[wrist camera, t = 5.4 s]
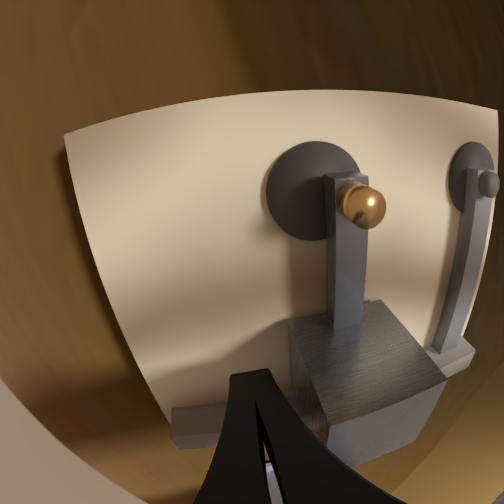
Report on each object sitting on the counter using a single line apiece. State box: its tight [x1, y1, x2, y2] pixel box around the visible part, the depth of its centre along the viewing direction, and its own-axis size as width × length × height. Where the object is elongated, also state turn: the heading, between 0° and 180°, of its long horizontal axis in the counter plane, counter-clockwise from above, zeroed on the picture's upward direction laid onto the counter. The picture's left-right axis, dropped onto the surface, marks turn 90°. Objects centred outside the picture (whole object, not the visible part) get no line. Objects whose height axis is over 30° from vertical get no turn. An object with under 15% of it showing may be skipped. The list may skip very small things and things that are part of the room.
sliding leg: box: [287, 171, 448, 467], centre depth 8 cm, size 8×4×4 cm, turn 6°
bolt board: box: [64, 90, 499, 450], centre depth 10 cm, size 14×16×3 cm
